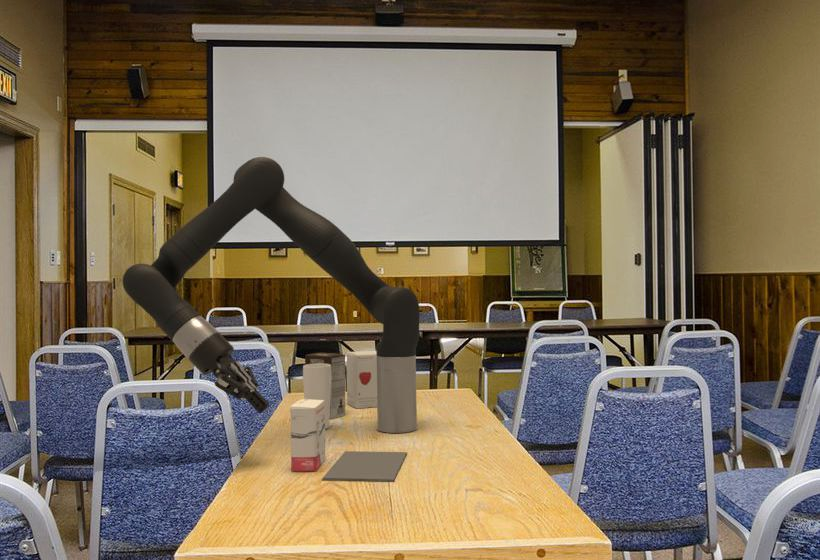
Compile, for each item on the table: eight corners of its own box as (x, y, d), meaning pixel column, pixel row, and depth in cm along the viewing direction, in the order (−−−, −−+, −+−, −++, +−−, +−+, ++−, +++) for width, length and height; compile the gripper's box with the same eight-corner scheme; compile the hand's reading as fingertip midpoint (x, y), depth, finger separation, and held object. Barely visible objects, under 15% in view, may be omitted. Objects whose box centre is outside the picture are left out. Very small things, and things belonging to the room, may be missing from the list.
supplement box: (356, 409, 175) (355, 354, 175) (346, 404, 183) (345, 351, 183) (387, 406, 179) (386, 352, 179) (376, 401, 187) (375, 350, 187)
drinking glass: (298, 430, 150) (297, 366, 150) (313, 424, 156) (312, 363, 156) (323, 432, 147) (322, 367, 148) (337, 426, 154) (336, 363, 154)
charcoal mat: (345, 453, 129) (345, 451, 129) (406, 454, 127) (406, 452, 127) (322, 480, 111) (322, 477, 111) (393, 481, 109) (393, 479, 109)
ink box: (316, 472, 116) (315, 406, 116) (289, 472, 116) (288, 406, 116) (326, 459, 124) (325, 398, 125) (301, 459, 125) (300, 398, 125)
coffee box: (304, 416, 167) (303, 354, 167) (320, 411, 172) (319, 352, 172) (331, 419, 162) (330, 356, 162) (347, 415, 167) (346, 353, 167)
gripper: (200, 333, 116) (266, 401, 115) (229, 328, 129) (289, 389, 128) (173, 363, 117) (238, 431, 115) (205, 355, 130) (264, 416, 128)
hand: (265, 409), depth 121 cm, fingers closed
